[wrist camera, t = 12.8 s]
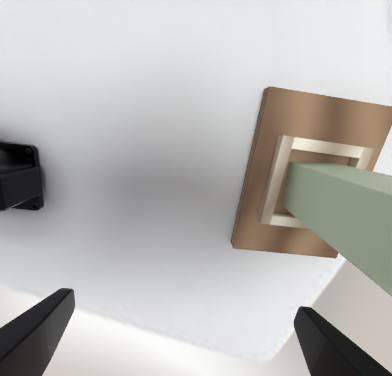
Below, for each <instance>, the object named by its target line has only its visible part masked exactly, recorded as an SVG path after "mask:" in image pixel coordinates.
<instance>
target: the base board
mask: <svg viewBox="0 0 392 376" xmlns="http://www.w3.org/2000/svg"><path fill="white" fill-rule="evenodd" d="M391 126H392V107H391V106H385V105H379V104H373V103H367V102H360V101H354V100H348V99H342V98H336V97H330V96H324V95H318V94H312V93H306V92H300V91H294V90H288V89H282V88H276V87H268V88H266V89H265V90H264V94H263V99H262V103H261V108H260V112H259V117H258V121H257V126H256V131H255V135H254V140H253V144H252V149H251V153H250V158H249V162H248V167H247V172H246V176H245V181H244V185H243V190H242V194H241V199H240V203H239V208H238V213H237V217H236V222H235V226H234V231H233V235H232V240H231V243H232V246H233V248H236V249H246V250H257V251H267V252H277V253H288V254H298V255H308V256H319V257H329V258H336V257H337V255H338V252H337V251H336V250H335V249H334V248H333V247H331V246H330V245H329V244H328V243H326V242H325V241H324V240H323V239H322V238H320V237H319V236H318V235H317V234H316V233H314V232H313V231H312V230H311V229H309V228H308V227H307V226H306V225H305V224H303V223H302V222H301V221H300V220H299V219H297V218H296V217H295V216H294V215H292V214H291V213H290V212H289V211H288V210H286V209H285V208H284V207H283V206H282V202H283V196H284V190H285V185H286V179H287V173H288V168H289V162H318V163H338V164H342V165H346V166H351V167H355V168H359V169H364V170H368V171H373V169H374V166H375V164H376V162H377V159H378V157H379V154H380V152H381V150H382V147H383V145H384V143H385V140H386V138H387V135H388V133H389V131H390V128H391Z"/></svg>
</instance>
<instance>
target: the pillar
mask: <svg viewBox="0 0 392 376" xmlns="http://www.w3.org/2000/svg"><path fill="white" fill-rule="evenodd" d="M282 206H283V207H284V208H285V209H286V210H288V211H289V212H290V213H291V214H292V215H294V216H295V217H296V218H297V219H299V220H300V221H301V222H302V223H303V224H305V225H306V226H307V227H308V228H309V229H311V230H312V231H313V232H314V233H316V234H317V235H318V236H319V237H320V238H322V239H323V240H324V241H325V242H326V243H328V244H329V245H330V246H331V247H333V248H334V249H335V250H336V251H337V252H339V253H340V254H341V255H342V256H343V257H345V258H346V259H347V260H348V261H350V262H351V263H352V264H353V265H355V266H356V267H357V268H358V269H359V270H360V271H362V272H363V273H364V274H365V275H366V276H368V277H369V278H370V279H371V280H373V281H374V282H375V283H376V284H377V285H379V286H380V287H381V288H382V289H384V290H385V291H386V292H387V293H388V294H390V295H391V296H392V176H390V175H385V174H381V173H377V172H372V171H368V170H364V169H359V168H355V167H351V166H346V165H342V164H338V163H318V162H289V168H288V173H287V179H286V185H285V190H284V196H283V202H282Z"/></svg>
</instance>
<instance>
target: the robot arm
mask: <svg viewBox="0 0 392 376" xmlns="http://www.w3.org/2000/svg"><path fill="white" fill-rule="evenodd" d="M29 149H30V150H31V153H30V152H29ZM35 204H36V205H37V206H36V205H35ZM42 207H43V201H42V189H41V180H40V170H39V164H38V154H37V149H36V148H35V147H34V146H32V145H27V144H19V143H11V142H3V141H0V212H1V211H5V210H7V209H9V208H16V209H26V210H39V209H41V208H42ZM74 308H75V298H74V290H73V289H69V288H61V289H59V290H58V291H56V292H55V293H53V294H52V295H50V296H48V297H47V298H45V299H44V300H42V301H41V302H39V303H38V304H36V305H35V306H33V307H32V308H30V309H29V310H27V311H26V312H24V313H23V314H21V315H20V316H18V317H16V318H15V319H14V320H12V321H10V322H9V323H7V324H6V325H4V326H3V327H1V328H0V376H42V374H43V373H44V371H45V369H46V367H47V366H48V364H49V362H50V360H51V358H52V356H53V354H54V352H55V350H56V348H57V346H58V343H59V341H60V339H61V337H62V335H63V333H64V331H65V329H66V326H67V324H68V322H69V320H70V318H71V316H72V313H73V311H74ZM294 328H295V331H296V334H297V337H298V339H299V343H300V346H301V349H302V351H303V354H304V358H305V360H306V363H307V366H308V369H309V372H310V374H311V376H392V374H391V373H390V372H389V371H388V370H387V369H385V368H384V367H383V366H382V365H380V364H379V363H378V362H377V361H376V360H374V359H373V358H372V357H371V356H369V355H368V354H367V353H366V352H365V351H363V350H362V349H361V348H360V347H358V346H357V345H356V344H355V343H354V342H352V341H351V340H350V339H349V338H348V337H346V336H345V335H344V334H342V333H341V332H340V331H339V330H338V329H337V328H335V327H334V326H333V325H332V324H330V323H329V322H328V321H327V320H326V319H324V318H323V317H322V316H321V315H319V314H318V313H317V312H316V311H315V310H313V309H312V308H310V307H303V306H301V307H299V309H298V311H297V314H296V316H295V319H294Z"/></svg>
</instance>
